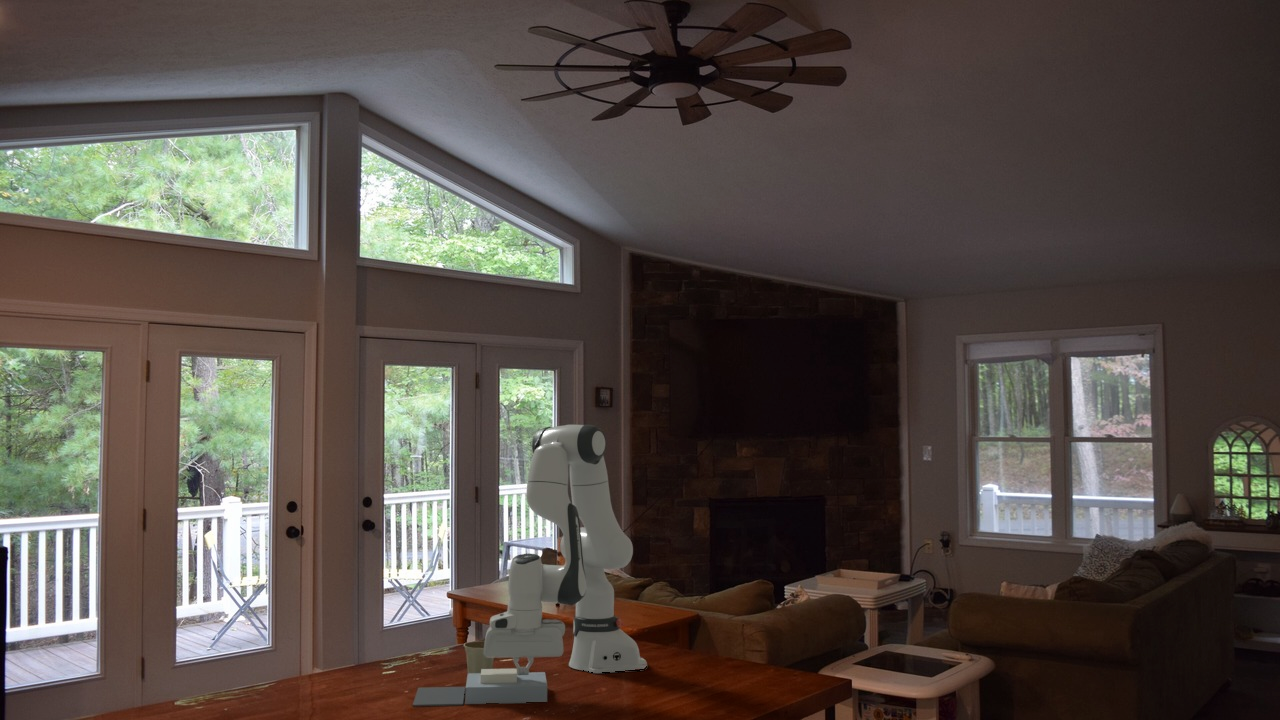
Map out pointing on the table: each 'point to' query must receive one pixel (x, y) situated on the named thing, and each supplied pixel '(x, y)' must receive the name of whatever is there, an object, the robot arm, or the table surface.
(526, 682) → the plate
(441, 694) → the mat
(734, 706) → the table surface
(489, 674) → the cream flat block
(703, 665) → the table surface
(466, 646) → the flower pot
